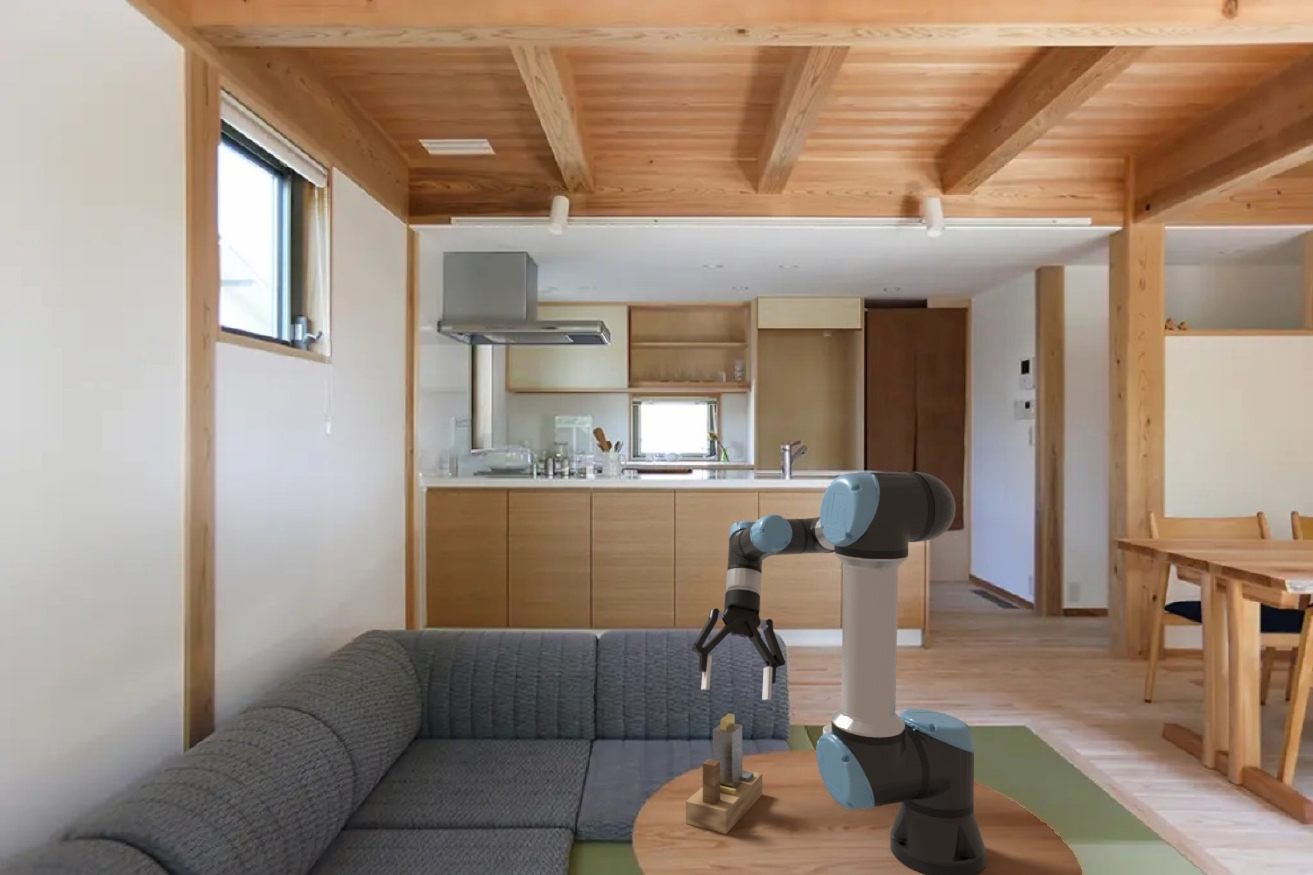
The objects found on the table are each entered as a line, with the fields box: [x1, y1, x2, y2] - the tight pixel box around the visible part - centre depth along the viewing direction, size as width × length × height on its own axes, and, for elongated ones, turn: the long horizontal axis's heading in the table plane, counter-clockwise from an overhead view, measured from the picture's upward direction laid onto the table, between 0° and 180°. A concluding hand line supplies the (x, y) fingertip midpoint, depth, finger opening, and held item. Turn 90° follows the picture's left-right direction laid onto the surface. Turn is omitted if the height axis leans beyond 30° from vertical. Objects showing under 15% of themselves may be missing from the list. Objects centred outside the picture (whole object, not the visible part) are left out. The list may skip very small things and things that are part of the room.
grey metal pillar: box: [712, 713, 743, 789], centre depth 145 cm, size 4×5×13 cm
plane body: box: [685, 758, 763, 835], centre depth 145 cm, size 8×18×11 cm, turn 151°
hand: (736, 694), depth 154 cm, fingers open, 13 cm apart
